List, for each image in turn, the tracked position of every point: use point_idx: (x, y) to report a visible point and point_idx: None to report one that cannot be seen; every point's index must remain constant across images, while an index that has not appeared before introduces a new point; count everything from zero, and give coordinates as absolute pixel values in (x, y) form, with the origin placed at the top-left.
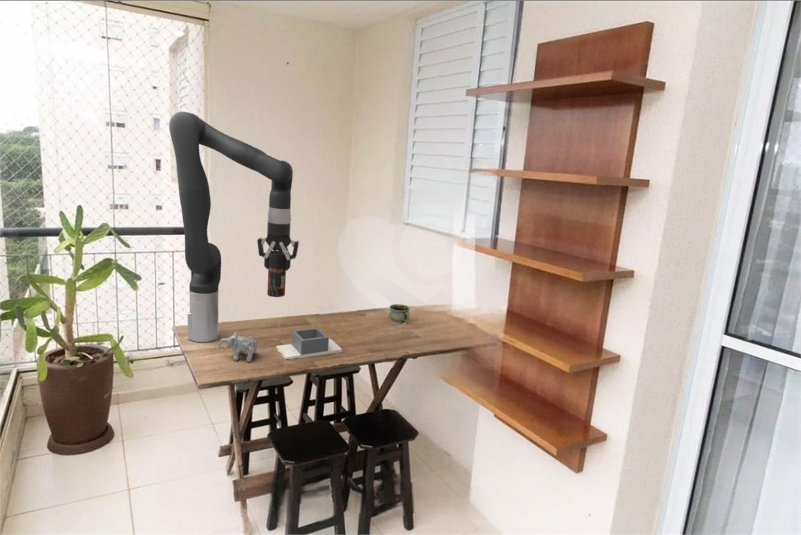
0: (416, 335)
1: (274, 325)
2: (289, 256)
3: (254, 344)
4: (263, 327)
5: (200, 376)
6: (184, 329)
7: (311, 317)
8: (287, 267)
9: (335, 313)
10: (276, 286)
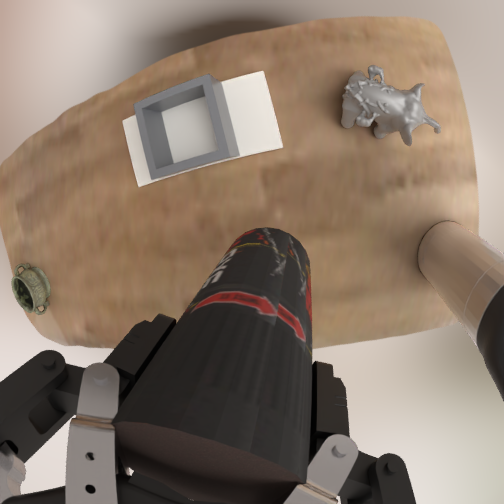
0: (19, 213)
1: None
2: (81, 389)
3: (352, 83)
4: None
5: (445, 44)
6: None
7: None
8: (149, 325)
9: None
10: (264, 247)
